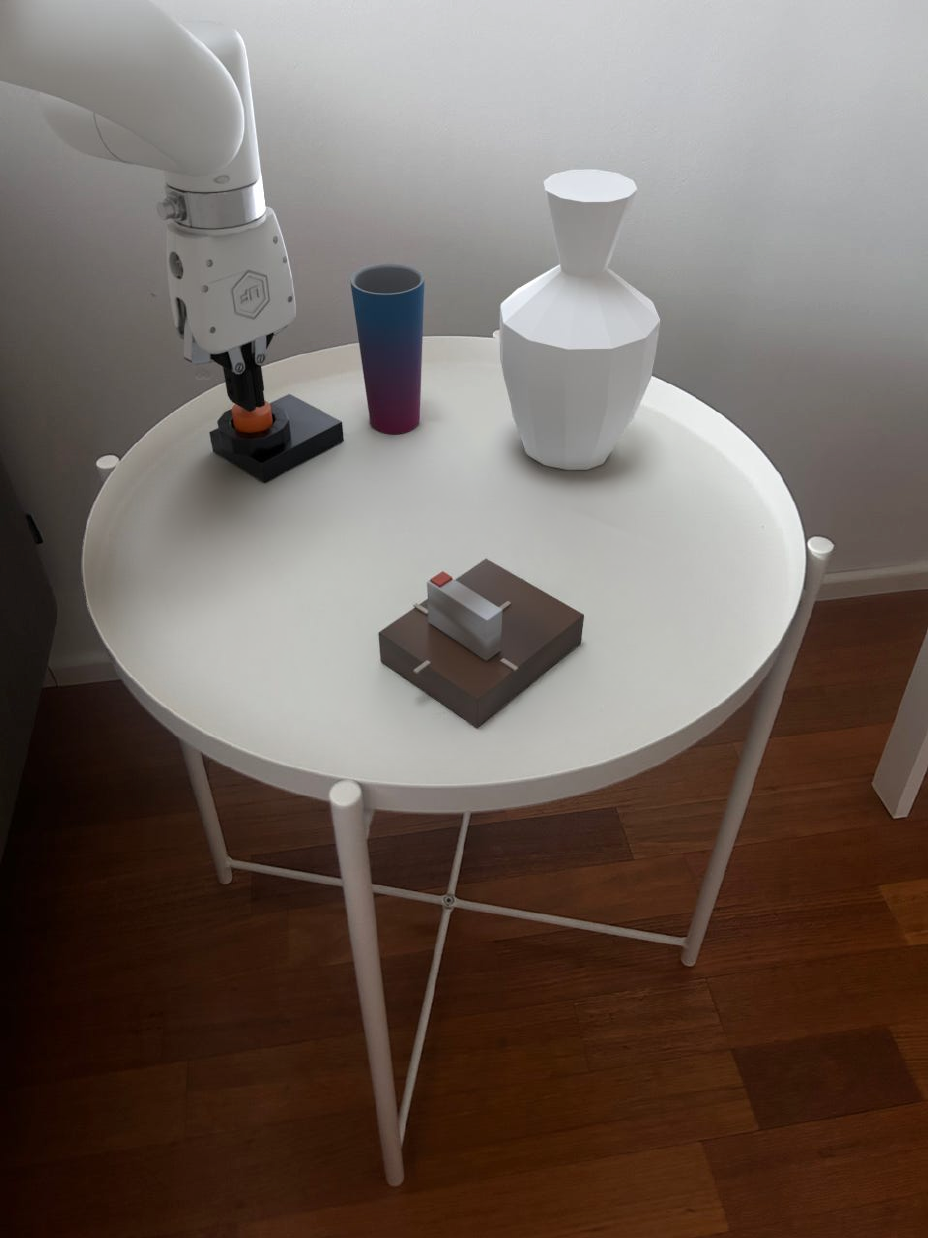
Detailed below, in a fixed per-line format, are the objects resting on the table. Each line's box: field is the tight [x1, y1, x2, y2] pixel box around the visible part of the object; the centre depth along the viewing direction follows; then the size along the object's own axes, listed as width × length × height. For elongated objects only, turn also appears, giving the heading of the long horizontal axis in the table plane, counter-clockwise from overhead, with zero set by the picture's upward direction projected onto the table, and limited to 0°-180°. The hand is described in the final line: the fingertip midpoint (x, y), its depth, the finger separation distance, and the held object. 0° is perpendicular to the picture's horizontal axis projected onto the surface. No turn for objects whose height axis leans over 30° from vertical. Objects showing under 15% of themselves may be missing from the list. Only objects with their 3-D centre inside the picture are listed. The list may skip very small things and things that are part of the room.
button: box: [231, 400, 273, 433], centre depth 95 cm, size 4×4×2 cm
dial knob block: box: [377, 558, 585, 728], centre depth 76 cm, size 13×10×3 cm
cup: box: [349, 262, 426, 435], centre depth 97 cm, size 7×7×15 cm
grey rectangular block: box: [426, 570, 502, 661], centre depth 73 cm, size 6×2×4 cm, turn 46°
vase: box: [498, 168, 661, 471], centre depth 90 cm, size 14×14×25 cm
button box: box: [208, 393, 345, 484], centre depth 97 cm, size 11×8×4 cm
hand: (247, 403), depth 93 cm, fingers closed
